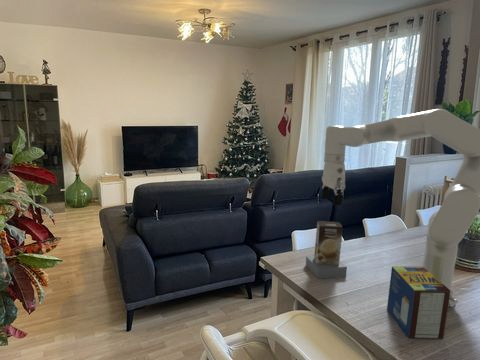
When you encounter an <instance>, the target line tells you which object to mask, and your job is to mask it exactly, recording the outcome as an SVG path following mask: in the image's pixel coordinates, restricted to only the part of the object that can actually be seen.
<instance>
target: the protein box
mask: <svg viewBox="0 0 480 360" xmlns="http://www.w3.org/2000/svg"><path fill="white" fill-rule="evenodd" d="M389 281H390V282H389V287H388V288H389V290H388V296H387V297H388V299H387V305H386V309H387V311H388V312H389V314H390V316H392V318H393V319H394V321H395V322H396V324H397V325H398V326H399V327H400V329H401V331H402V332H403V333H404V334H405V336H406V337H407V338H408V339H423V340H425V339H426V340H427V339H428V340H430V339H432V340H434V339H435V340H436V339H437V340H441V339H442V340H444V338H445V337H444V335H445V329H446V322H447V315H448V312H449V311H448V310H449V306H448V304H449V298H450V290H449V289H448V288H447V287H446V286H445V285H443V284H442V283H441V282H440V281H439V280H438V279H437V278H435V277H434V276H433V275H432V274H431V273H430V272H428V271H427V270H426V269H425V268H424V267H422V266H404V265H403V266H398V265H392V266H391V273H390V280H389Z"/></svg>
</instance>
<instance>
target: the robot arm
mask: <svg viewBox="0 0 480 360" xmlns="http://www.w3.org/2000/svg"><path fill="white" fill-rule="evenodd" d="M429 137H432V138H434V139H436V140H437V141H438V142H440V143H442V144H443V145H445V146H447V147H448V148H451V149H452V150H453V151H456V152H458V153H459V154H461V155H462V156H463V160H462V163H461V165H460V167H459V169H458V171H457V174H455V177H454V178H453V180H452V181H451V183H450V185H449V187H448V188H447V189H446V191H445V193H444V195H443V196H444V197H443V199H444V200H443V202H442V204H441V206H440V207H439V208H438V211H436V212H434V213H432V214H431V216H430V217H429V219H428V222H427V230H426V241H425V246H424V252H423V260H422V266H421V267H424V268H425V269H426V270H427V271H428V272H430V273H431V274H432V275H433V276H434V277H435V278H437V279H438V280H439V281H440V282H441V283H442V284H443V285H445V286H446V287H447V288H448V289H449V290H450V298H449V304H448V307H451V308H453V307H455V305H456V304H457V303H458V301H459V300H458V299H457V298H456V297H454V295H453V294H454V291H453V290H452V284H453V280H454V272H455V266H456V260H457V255H458V249H459V247H458V246H459V243H460V242H462V240H463V238H464V237H465V236H466V234H467V232H468V230H469V229H470V227H471V225H472V223H473V222H474V221H475V219H476V217H477V215H478V214H479V211H480V128H479V127H476V126H475V125H473V124H471V123H470V122H467V121H465V120H464V119H462V118H461V117H458V116H457V115H455V114H454V113H452V112H451V111H449V110H446V109H444V108H436V109H435V108H434V109H429V110H425V111H420V112H415V113H410V114H405V115H400V116H394V117H391V118H389V119H386V120H382V121H377V122H372V123H366V124H360V125H353V126H344V125H329V126H327V127H326V131H325V143H324V144H325V145H324V158H323V160H324V161H323V162H324V165H323V171H322V172H323V173H322V176H321V185H322V186H321V190H322V192H321V199H322V200H327V199H330V198H331V190H333V192H334V194H333V200H332V201H333V203H332V204H333V206H342V205H343V204H342V203H343V195H344V193H345V189H346V165H345V162H346V161H345V160H346V148H347V146H348V147H351V148H358V147H361V146H364V145H368V144H375V143H380V142H381V143H382V142H403V141H410V140H417V139H424V138H429Z"/></svg>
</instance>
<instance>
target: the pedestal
mask: <svg viewBox="0 0 480 360" xmlns="http://www.w3.org/2000/svg"><path fill="white" fill-rule="evenodd" d="M305 266H306V267H307V268H308V269H309V271H310V272H311V273H312V274H313V275H314V276H315V278H316V279H329V278H344V277H347V270H348V267H347V266H346V264H344V263H343V262H342V261H341V260H339V265H328V264H316V261H315V259H314V255H307V256H306V257H305Z"/></svg>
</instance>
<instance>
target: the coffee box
mask: <svg viewBox="0 0 480 360" xmlns="http://www.w3.org/2000/svg"><path fill="white" fill-rule="evenodd" d="M343 230H344V229H343V225H342V224H341V222H339V221H325V220H318V221H317V222H316V234H315V245H314V255H313V256H314V259H315V261H316V264H328V265H339V260H340V259H341V250H342V249H341V247H342V240H343V238H342V237H343ZM340 261H341V260H340Z"/></svg>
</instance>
